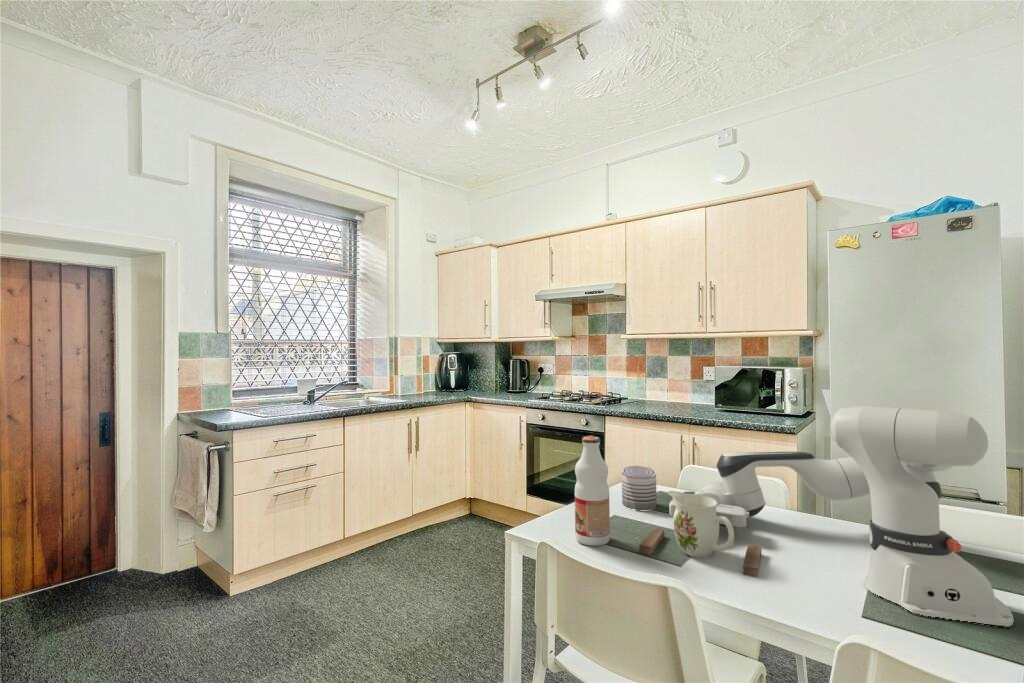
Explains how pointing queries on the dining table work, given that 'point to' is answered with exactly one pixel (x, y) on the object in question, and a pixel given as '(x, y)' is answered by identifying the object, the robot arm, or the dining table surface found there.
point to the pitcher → (698, 525)
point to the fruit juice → (592, 496)
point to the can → (639, 488)
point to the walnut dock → (750, 560)
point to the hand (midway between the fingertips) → (702, 521)
